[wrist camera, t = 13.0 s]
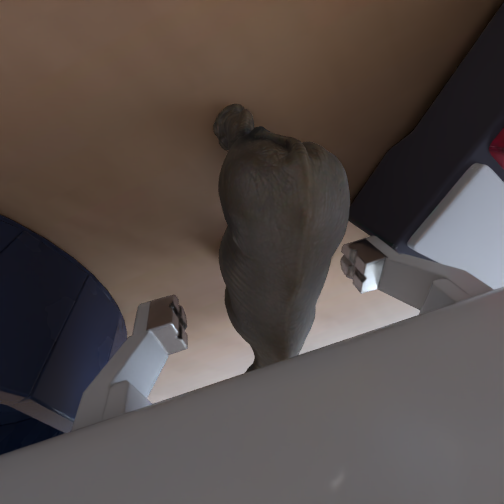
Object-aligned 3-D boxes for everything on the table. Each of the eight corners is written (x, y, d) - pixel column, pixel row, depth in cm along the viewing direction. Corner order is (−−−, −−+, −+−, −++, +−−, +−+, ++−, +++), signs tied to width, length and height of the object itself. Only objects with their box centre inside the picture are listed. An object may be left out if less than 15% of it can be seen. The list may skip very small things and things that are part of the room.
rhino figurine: (223, 334, 17) (241, 435, 12) (196, 103, 9) (215, 129, 4) (279, 322, 17) (316, 413, 13) (301, 101, 9) (427, 120, 5)
